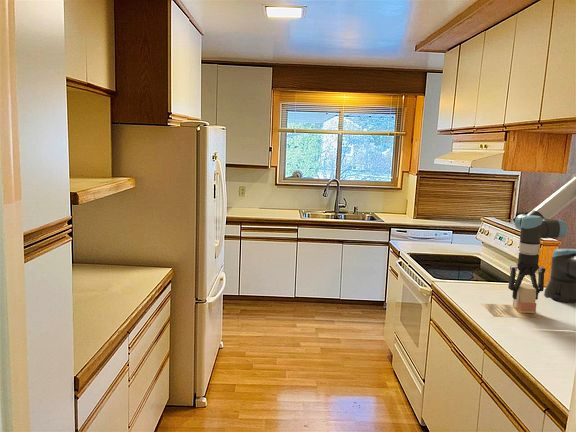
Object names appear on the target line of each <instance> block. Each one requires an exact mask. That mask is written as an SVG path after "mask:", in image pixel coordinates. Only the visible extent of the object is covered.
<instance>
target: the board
mask: <svg viewBox="0 0 576 432" xmlns="http://www.w3.org/2000/svg"><path fill="white" fill-rule="evenodd" d="M481 305H482V306H483V307H484V308H485V309H486V310H487V311H488V312H489V313H490V314H491V315H492V316H493V317H495V318H512V319H513V318H514V319H515V318H516V319H519V318H520V319H537V320H539V319H541V318H540V317H539V316H538V315H536V313H520V312H519V311H518V310H517V309H516V308H515V307H513V304H500V303H499V304H497V303H481Z"/></svg>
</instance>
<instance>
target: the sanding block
mask: <svg viewBox="0 0 576 432" xmlns="http://www.w3.org/2000/svg"><path fill="white" fill-rule="evenodd" d="M518 292H519V304H518V308H517V307H515V306H514V299H513V298H512V299H513V301H512V305H513V307H515V308H516V309H517V310H518V311H519V312H520V313H534V314H536V313H537V303H536V301H535V297H536V289H535V288H534V287H533V286H532V284H530V283H521V285H520V287H519V289H518Z"/></svg>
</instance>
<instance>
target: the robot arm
mask: <svg viewBox="0 0 576 432" xmlns="http://www.w3.org/2000/svg"><path fill="white" fill-rule="evenodd" d="M575 199H576V172H575V173H574V174H572V176H571V179H570V180H569V181H567V182H566V183H565V184H564V185H562V186H561V187H560V188H558V189H557V190H556V191H555V192H554V193H552V194H551V195H550V196H548V197H547V198H546V199H544V201H542V202H541V203H539V204H538V205H537V206H535V207H534V208H533V209H532V210H530V211H529V212H528V213H520V214H519V215H517V216H516V217H515V219H514V226H515V229H517V230H519V231H520V236H519V247H518V251H519V252H518V255H517V257H518V259H517V264H516V265H514V266H512V265H510V266H509V270H510V273H509V274H510V275H509V282H508V289H509V290H510V291H511V292H512V295H511V296H512V299H514V306H515V307H517V308H518V304H519V292H518V289H519V287H520V285H521V284H522V282H523V280H524V278H525V276H529V277H530V281H531V286H532V287H534V288H535V289H536V297H535V302H536V300H538V299H539V294H540V292H543V295H544V297H546V298H548V299H551V300H553V301H557V302H563V303H571V304H572V303H573V304H574V303H576V248H556V249H554V250H553V251H552V256H551V262H550V263H551V264H550V276H549V277H550V278H549V281H548V283H547V285H546V287H545V285H544V284H545V272H546V268H544V267H543V266H540V265H539V262H540V261H539V259H540V258H539V257H540V254H539V253H540V249H541V248H540V247H541V240H542V239H558V238H564V237H565V236H566V235H567V233H568V231H569V229H568V228H569V227H568V225H567V223H566V221H565V220H563V219H557V218H555V219H552V218H553V217H554V216H555V215H557V214H558V213H559V212H561V211H562V210H563V209H564V208H566V207H567V206H568V205H569V204H571V203H572V202H573V201H574V200H575ZM517 270H518V274H517ZM537 271H538V276H537V275H536V272H537ZM516 275H517V278H516ZM537 277H538V279H537Z"/></svg>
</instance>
